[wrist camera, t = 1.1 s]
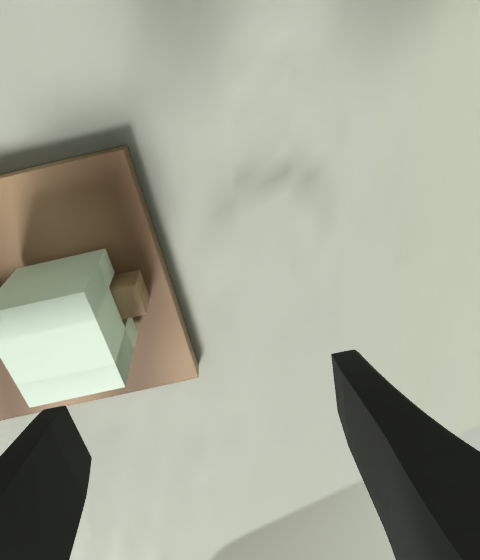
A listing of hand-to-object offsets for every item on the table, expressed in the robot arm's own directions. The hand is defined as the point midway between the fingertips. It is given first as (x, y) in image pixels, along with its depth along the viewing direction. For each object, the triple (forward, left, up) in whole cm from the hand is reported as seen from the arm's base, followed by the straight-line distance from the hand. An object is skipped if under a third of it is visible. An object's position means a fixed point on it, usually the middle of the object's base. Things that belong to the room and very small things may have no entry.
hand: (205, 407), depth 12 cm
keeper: (-6, 0, -9) cm, 11 cm away
